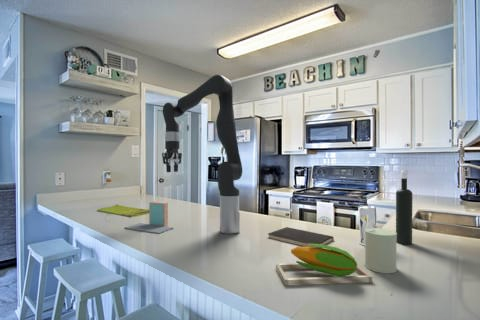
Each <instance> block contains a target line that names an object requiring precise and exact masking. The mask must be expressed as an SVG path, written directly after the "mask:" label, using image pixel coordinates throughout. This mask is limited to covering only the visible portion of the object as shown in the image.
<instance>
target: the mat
mask: <svg viewBox="0 0 480 320" xmlns="http://www.w3.org/2000/svg"><path fill="white" fill-rule="evenodd" d="M124 229H125V230H133V231H138V232H143V231H144V232H145V233H150V234H156V233H158V234H159V235H160V234H163V233H165V231H166V232H169V231H171V230H173V229H174V227H171V226H167V227H165V226H158V225H150V224H149V223H140V222H139V223H135V224H132V225H128V226H125V227H124ZM168 230H169V231H168Z"/></svg>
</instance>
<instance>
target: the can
mask: <svg viewBox="0 0 480 320" xmlns="http://www.w3.org/2000/svg"><path fill="white" fill-rule="evenodd" d="M396 238H397V233H396V231H394V230H392V229H387V228H382V227H375V228H367V229H365V246H364V265H363V266H364V267H365V268H366V269H367V270H370V271H373V272H375V273H380V274H394V273H396V272H397V271H398V269H397V242H396Z"/></svg>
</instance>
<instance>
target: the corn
mask: <svg viewBox="0 0 480 320" xmlns="http://www.w3.org/2000/svg"><path fill="white" fill-rule="evenodd" d="M308 244H309V245H314V246H318V247H306V246H297V247H294V248H292V249H290V253H291V254H292V255H293V256H294V257H295V258H297V259H298V260H297V261H296V262H295V263H298V264H300V265H302V266H304V267H306V268H309V269H308V270H311V271H315V272H318V273H322V274H326V275H331V276H333V277H337V276H351V275H353V274H355V273H356V271H355V270H356V269H357V266H358V263H357V261H356V259H355V258H354V257H353V256H352V255H351V254H350V253H349V252H348V251H346V250H344V249H340V248H338V247H336V246H331V245H327V244H325V245H321V244H311V243H308ZM299 260H300V261H299Z"/></svg>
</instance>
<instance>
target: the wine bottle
mask: <svg viewBox="0 0 480 320" xmlns="http://www.w3.org/2000/svg"><path fill="white" fill-rule="evenodd" d="M400 173H401V174H400V177H401V178H400V179H401V182H400V183H401V186H400V187H401V188H399V189H396V192H395V232H396V233H397V238H396V244H399V245H405V246H412V245H413V192H412V191H411V190H410V189H408V170H407V169H401V172H400Z"/></svg>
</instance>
